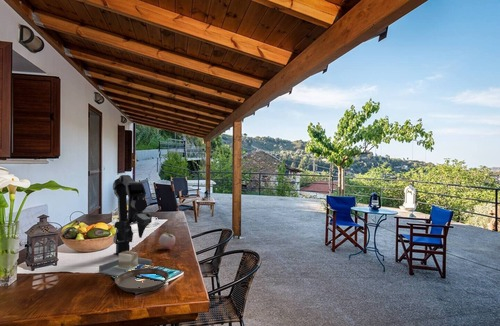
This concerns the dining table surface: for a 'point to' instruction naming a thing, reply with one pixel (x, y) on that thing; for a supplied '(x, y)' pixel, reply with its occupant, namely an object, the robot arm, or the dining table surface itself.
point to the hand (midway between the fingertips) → (133, 239)
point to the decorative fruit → (167, 240)
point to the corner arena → (115, 270)
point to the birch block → (128, 259)
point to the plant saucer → (131, 285)
